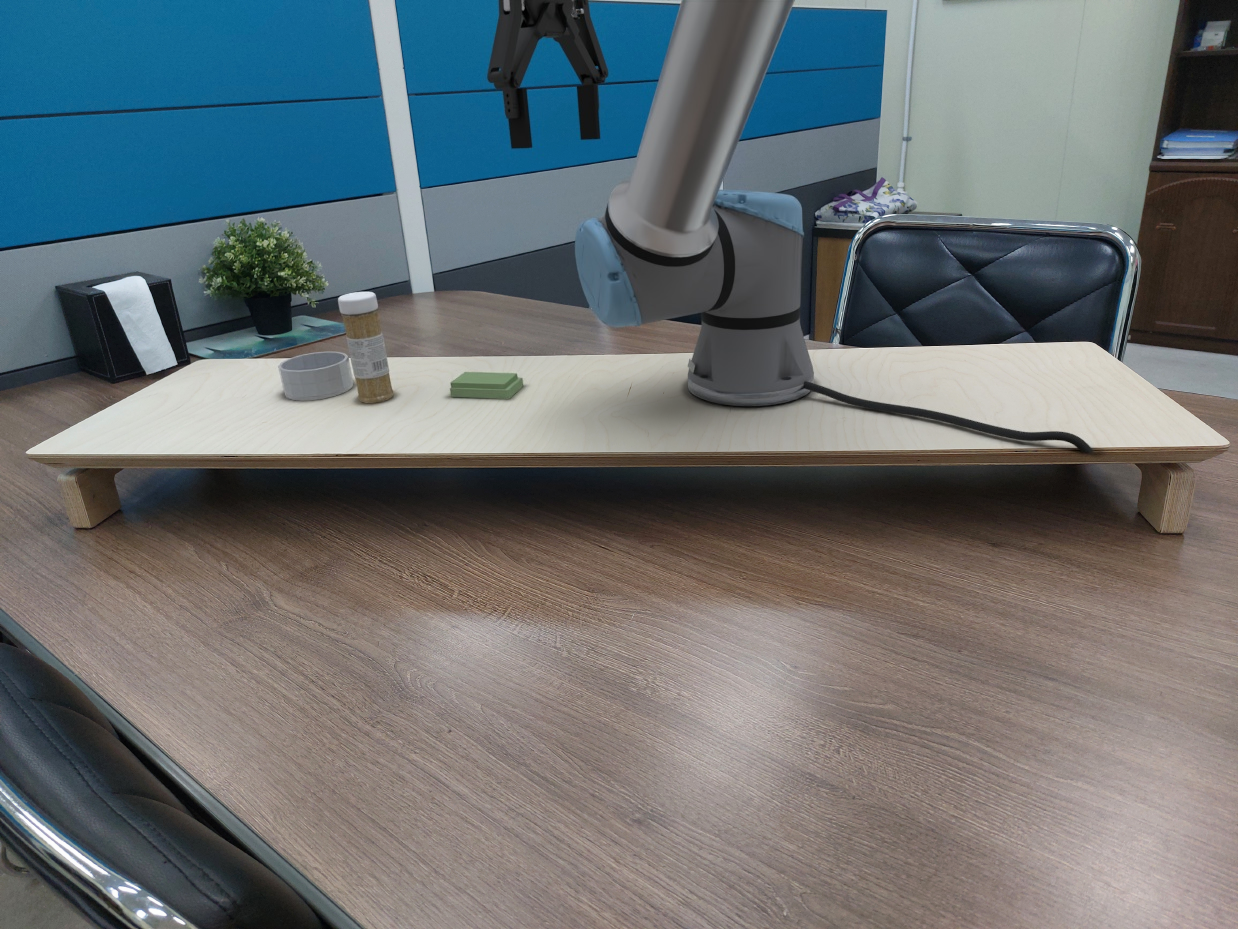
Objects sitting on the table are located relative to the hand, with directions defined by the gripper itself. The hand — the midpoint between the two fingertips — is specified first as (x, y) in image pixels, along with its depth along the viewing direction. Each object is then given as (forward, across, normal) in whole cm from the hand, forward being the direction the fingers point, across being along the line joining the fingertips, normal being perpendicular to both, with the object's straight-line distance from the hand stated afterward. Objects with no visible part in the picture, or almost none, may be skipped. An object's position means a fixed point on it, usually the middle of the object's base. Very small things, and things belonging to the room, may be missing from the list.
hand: (557, 143), depth 105 cm
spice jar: (+29, +23, -15) cm, 40 cm away
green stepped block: (+29, +15, -3) cm, 32 cm away
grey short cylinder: (+29, +24, -25) cm, 45 cm away
